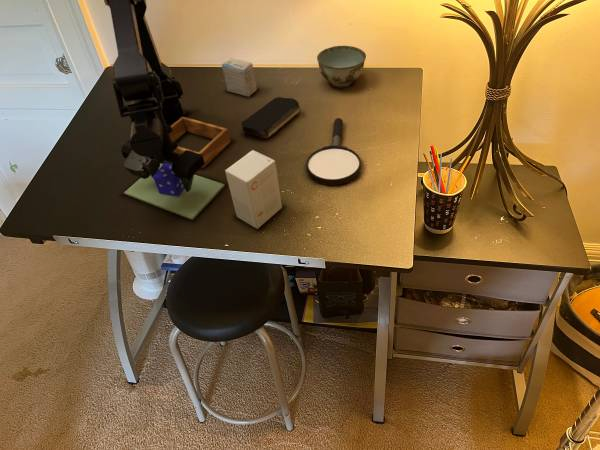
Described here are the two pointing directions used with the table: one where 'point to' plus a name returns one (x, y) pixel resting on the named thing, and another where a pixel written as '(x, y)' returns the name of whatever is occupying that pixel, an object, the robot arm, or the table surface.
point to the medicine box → (239, 77)
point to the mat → (182, 204)
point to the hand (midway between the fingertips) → (172, 185)
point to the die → (168, 181)
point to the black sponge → (271, 117)
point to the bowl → (341, 64)
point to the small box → (254, 188)
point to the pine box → (203, 129)
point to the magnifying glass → (334, 161)
